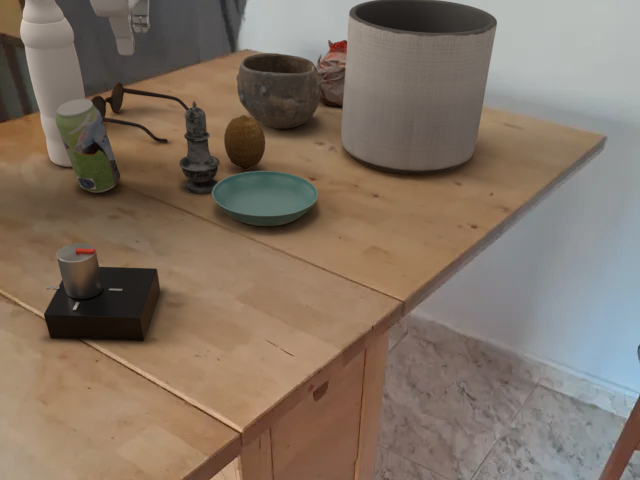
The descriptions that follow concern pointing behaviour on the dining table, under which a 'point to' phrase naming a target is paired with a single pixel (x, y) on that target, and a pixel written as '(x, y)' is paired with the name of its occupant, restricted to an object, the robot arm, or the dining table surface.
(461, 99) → the planter
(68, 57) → the water bottle
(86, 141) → the beverage can
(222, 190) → the saucer
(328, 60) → the food item
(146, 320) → the dial base
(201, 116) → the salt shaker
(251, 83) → the bowl
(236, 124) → the fruit
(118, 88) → the eyeglasses
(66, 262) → the hob knob
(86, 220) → the dining table surface
